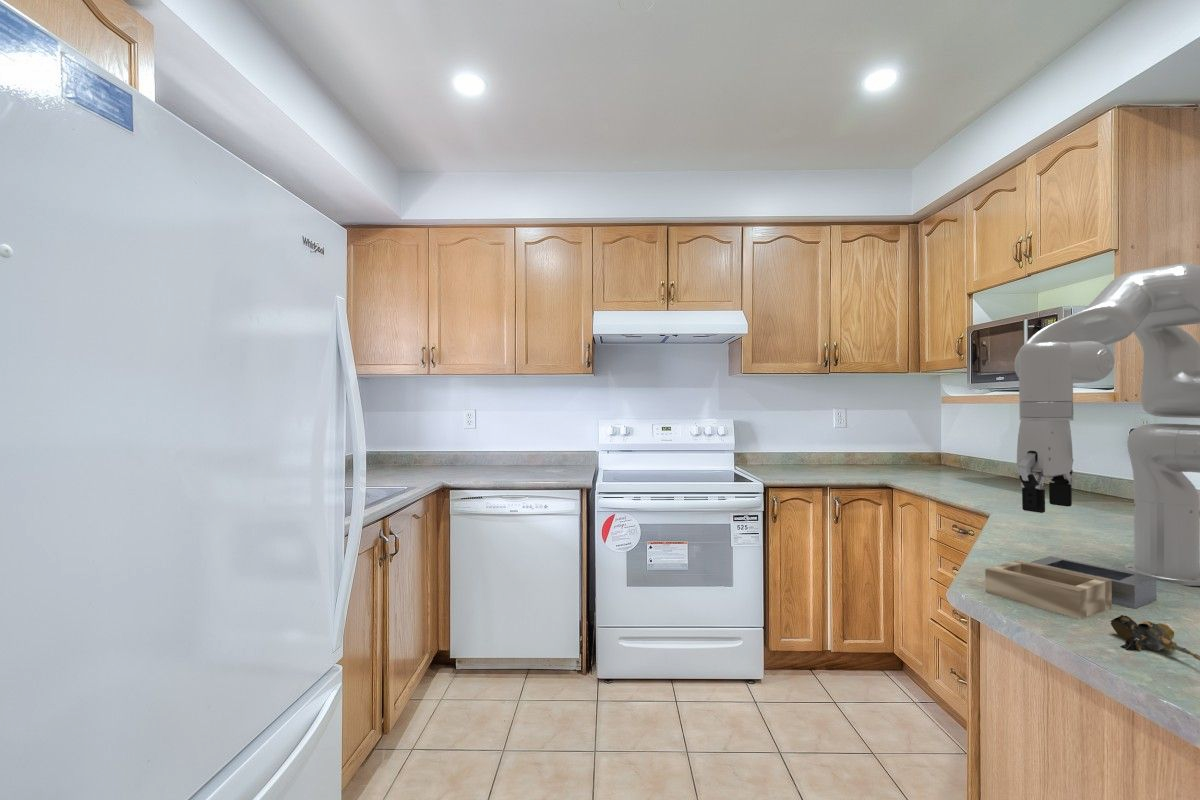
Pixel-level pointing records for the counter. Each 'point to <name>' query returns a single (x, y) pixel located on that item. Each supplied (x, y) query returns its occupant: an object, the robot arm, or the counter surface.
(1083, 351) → the robot arm
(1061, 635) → the counter surface
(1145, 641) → the regulator
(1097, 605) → the socket
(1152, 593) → the gray rectangular tray
